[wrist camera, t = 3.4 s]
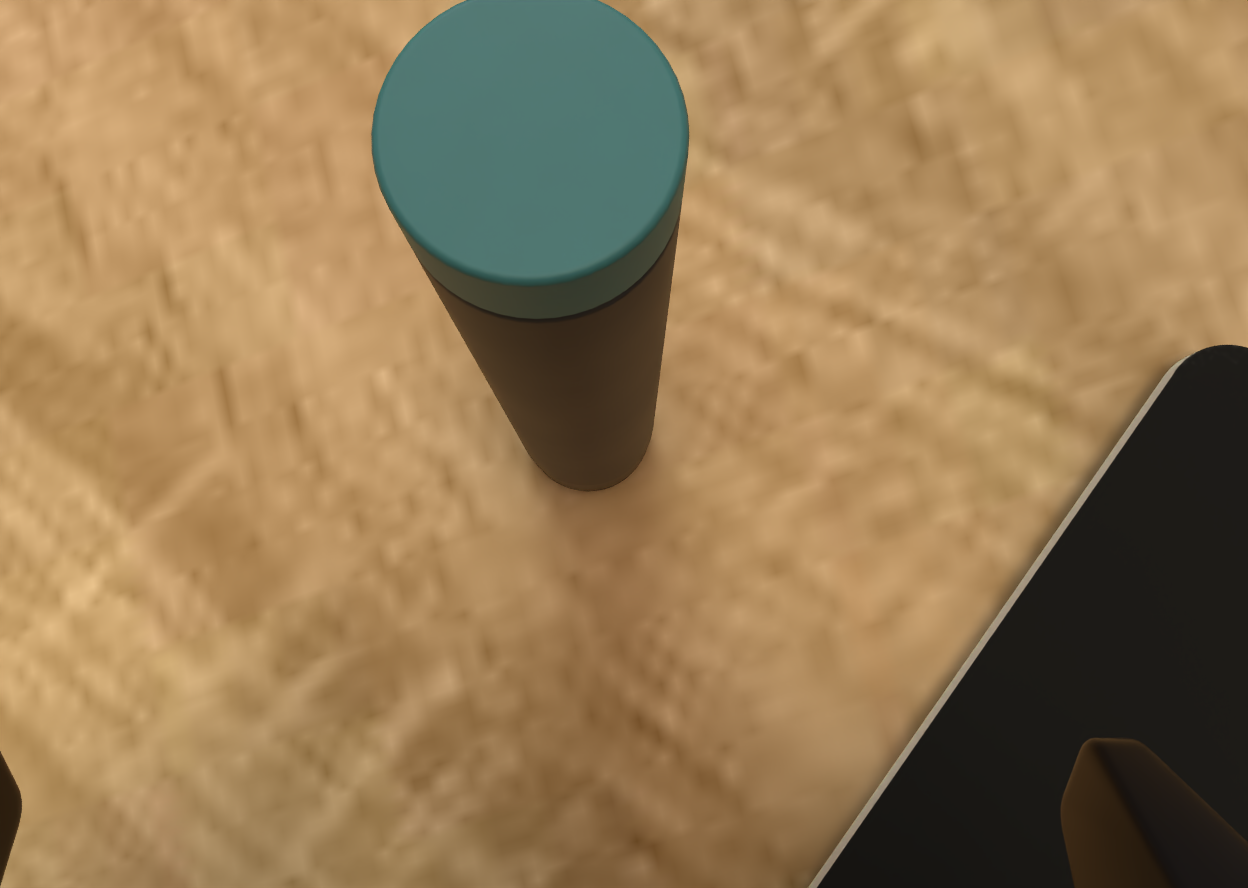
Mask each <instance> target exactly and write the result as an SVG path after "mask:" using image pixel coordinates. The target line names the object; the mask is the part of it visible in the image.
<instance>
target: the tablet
mask: <svg viewBox="0 0 1248 888" xmlns="http://www.w3.org/2000/svg"><path fill="white" fill-rule="evenodd" d="M1091 738H1131V739H1135V740H1138V741H1140V742H1141V743H1143V744H1145V745H1146V746H1147V747H1148V748H1149V749H1150V750H1152V751H1153V752H1154V753H1155V754H1156V755H1157V756H1158V757H1159V758H1160V759H1161V760H1162V761H1163V762H1164V763H1165V764H1166V765H1167V766H1168V767H1169V768H1170V769H1171V770H1173V771H1174V772H1175V773H1176V774H1177V775H1178V776H1179V777H1180V778H1181V779H1182V780H1183V781H1184V782H1185V783H1186V784H1187V785H1188V786H1189V787H1190V788H1191V789H1192V790H1193V791H1195V792H1196V793H1197V794H1198V795H1199V796H1200V797H1201V798H1202V799H1203V800H1204V801H1205V802H1206V803H1207V804H1208V805H1209V806H1210V807H1211V808H1212V809H1213V810H1214V811H1216V812H1217V813H1218V814H1219V815H1220V816H1221V817H1222V818H1223V819H1224V820H1225V821H1226V822H1227V823H1228V824H1229V825H1230V826H1231V827H1232V828H1233V829H1234V830H1235V831H1236V832H1238V833H1239V834H1240V835H1241V836H1242V837H1243V838H1244V839H1245V840H1246V841H1247V842H1248V348H1247V347H1242V346H1237V345H1218V346H1212V347H1209V348H1205V349H1203V350H1200V351H1198V352H1196V353H1194V354H1192V355H1189V356H1187V357H1185V358H1183V359H1182V360H1180V361H1179V362H1177V363H1176V364H1175V365H1173V366H1172V367H1171V368H1170V369H1169V370H1168V371H1167V373H1166V374H1165V375H1164V377H1163V378H1162V379H1161V381H1160V382H1159V384H1158V385H1157V387H1156V388H1155V390H1154V391H1153V392H1152V394H1151V395H1150V397H1149V398H1148V400H1147V401H1146V402H1145V404H1144V405H1143V407H1142V408H1141V410H1140V411H1139V413H1138V414H1137V415H1136V417H1135V418H1134V420H1133V421H1132V423H1131V424H1130V425H1129V427H1128V428H1127V430H1126V431H1125V433H1124V434H1123V436H1122V437H1121V438H1120V440H1119V441H1118V443H1117V444H1116V446H1115V447H1114V448H1113V450H1112V451H1111V453H1110V454H1109V456H1108V457H1107V459H1106V460H1105V461H1104V463H1103V464H1102V466H1101V467H1100V469H1099V470H1098V471H1097V473H1096V474H1095V476H1094V477H1093V479H1092V480H1091V482H1090V483H1089V484H1088V486H1087V487H1086V489H1085V490H1084V492H1083V493H1082V494H1081V496H1080V497H1079V499H1078V500H1077V502H1076V503H1075V505H1074V506H1073V507H1072V509H1071V510H1070V512H1069V513H1068V515H1067V516H1066V517H1065V519H1064V520H1063V522H1062V523H1061V525H1060V526H1059V528H1058V529H1057V530H1056V532H1055V533H1054V535H1053V536H1052V538H1051V539H1050V540H1049V542H1048V543H1047V545H1046V546H1045V548H1044V549H1043V551H1042V552H1041V553H1040V555H1039V556H1038V558H1037V559H1036V561H1035V562H1034V563H1033V565H1032V566H1031V568H1030V569H1029V571H1028V572H1027V574H1026V575H1025V576H1024V578H1023V579H1022V581H1021V582H1020V584H1019V585H1018V586H1017V588H1016V589H1015V591H1014V592H1013V594H1012V595H1011V597H1010V598H1009V599H1008V601H1007V602H1006V604H1005V605H1004V607H1003V608H1002V609H1001V611H1000V612H999V614H998V615H997V617H996V618H995V620H994V621H993V622H992V624H991V625H990V627H989V628H988V630H987V631H986V633H985V634H984V635H983V637H982V638H981V640H980V641H979V643H978V644H977V645H976V647H975V648H974V650H973V651H972V653H971V654H970V656H969V657H968V658H967V660H966V661H965V663H964V664H963V666H962V667H961V668H960V670H959V671H958V673H957V674H956V676H955V677H954V679H953V680H952V681H951V683H950V684H949V686H948V687H947V689H946V690H945V691H944V693H943V694H942V696H941V697H940V699H939V700H938V702H937V703H936V704H935V706H934V707H933V709H932V710H931V712H930V713H929V714H928V716H927V717H926V719H925V720H924V722H923V723H922V725H921V726H920V727H919V729H918V730H917V732H916V733H915V735H914V736H913V737H912V739H911V740H910V742H909V743H908V745H907V746H906V748H905V749H904V750H903V752H902V753H901V755H900V756H899V758H898V759H897V760H896V762H895V763H894V765H893V766H892V768H891V769H890V771H889V772H888V773H887V775H886V776H885V778H884V779H883V781H882V782H881V783H880V785H879V786H878V788H877V789H876V791H875V792H874V794H873V795H872V796H871V798H870V799H869V801H868V802H867V804H866V805H865V806H864V808H863V809H862V811H861V812H860V814H859V815H858V817H857V818H856V819H855V821H854V822H853V824H852V825H851V827H850V828H849V829H848V831H847V832H846V834H845V835H844V837H843V838H842V840H841V841H840V842H839V844H838V845H837V847H836V848H835V850H834V851H833V852H832V854H831V855H830V857H829V858H828V860H827V861H826V863H825V864H824V865H823V867H822V868H821V870H820V871H819V873H818V874H817V875H816V877H815V878H814V880H813V881H812V883H811V884H810V886H809V887H808V888H1074V883H1073V879H1072V874H1071V869H1070V864H1069V859H1068V855H1067V850H1066V845H1065V840H1064V836H1063V831H1062V825H1061V802H1062V798H1063V794H1064V792H1065V789H1066V786H1067V784H1068V781H1069V778H1070V776H1071V773H1072V770H1073V767H1074V765H1075V762H1076V759H1077V757H1078V754H1079V751H1080V749H1081V747H1082V745H1083V744H1084V743H1085V742H1086V741H1087V740H1089V739H1091Z"/></svg>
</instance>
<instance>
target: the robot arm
mask: <svg viewBox="0 0 1248 888" xmlns="http://www.w3.org/2000/svg"><path fill="white" fill-rule="evenodd" d="M21 812H22V799H21V794H20V790H19V788H18V786H17V784H16V782H15V780H14V778H13V776H12V774H11V772H10V770H9V768H8V766H7V764H6V762H5V760H4V758H3V756H2V754H1V752H0V885H1V882H2V879H3V876H4V872H5V869H6V866H7V862H8V859H9V856H10V853H11V849H12V846H13V843H14V839H15V836H16V833H17V830H18V826H19V823H20V818H21ZM1061 825H1062V831H1063V836H1064V840H1065V845H1066V850H1067V855H1068V859H1069V864H1070V869H1071V874H1072V879H1073V883H1074V888H1248V842H1247V841H1246V840H1245V839H1244V838H1243V837H1242V836H1241V835H1240V834H1239V833H1238V832H1236V831H1235V830H1234V829H1233V828H1232V827H1231V826H1230V825H1229V824H1228V823H1227V822H1226V821H1225V820H1224V819H1223V818H1222V817H1221V816H1220V815H1219V814H1218V813H1217V812H1216V811H1214V810H1213V809H1212V808H1211V807H1210V806H1209V805H1208V804H1207V803H1206V802H1205V801H1204V800H1203V799H1202V798H1201V797H1200V796H1199V795H1198V794H1197V793H1196V792H1195V791H1193V790H1192V789H1191V788H1190V787H1189V786H1188V785H1187V784H1186V783H1185V782H1184V781H1183V780H1182V779H1181V778H1180V777H1179V776H1178V775H1177V774H1176V773H1175V772H1174V771H1173V770H1171V769H1170V768H1169V767H1168V766H1167V765H1166V764H1165V763H1164V762H1163V761H1162V760H1161V759H1160V758H1159V757H1158V756H1157V755H1156V754H1155V753H1154V752H1153V751H1152V750H1150V749H1149V748H1148V747H1147V746H1146V745H1145V744H1143V743H1141V742H1140V741H1138V740H1135V739H1131V738H1091V739H1089V740H1087V741H1086V742H1085V743H1084V744H1083V745H1082V747H1081V749H1080V751H1079V754H1078V757H1077V759H1076V762H1075V765H1074V767H1073V770H1072V773H1071V776H1070V778H1069V781H1068V784H1067V786H1066V789H1065V792H1064V794H1063V798H1062V802H1061Z"/></svg>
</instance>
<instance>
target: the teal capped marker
mask: <svg viewBox="0 0 1248 888" xmlns="http://www.w3.org/2000/svg"><path fill="white" fill-rule="evenodd" d="M371 135H372V156H373V162H374V169H375V174H376V177H377V180H378V183H379V186H380V190H381V192H382V194H383V196H384V199H385V201H386V203H387V205H388V207H389V209H390V211H391V213H392V214H393V216H394V218H395V220H396V221H397V223H398V225H399V227H400V228H401V230H402V232H403V234H404V236H405V237H406V239H407V241H408V243H409V244H410V246H411V248H412V249H413V251H414V253H415V255H416V257H417V258H418V260H419V262H420V264H421V265H422V267H423V269H424V271H425V272H426V274H427V276H428V278H429V280H430V281H431V283H432V285H433V287H434V288H435V290H436V292H437V294H438V295H439V297H440V299H441V301H442V302H443V304H444V306H445V308H446V309H447V311H448V313H449V315H450V317H451V318H452V320H453V322H454V324H455V325H456V327H457V329H458V331H459V332H460V334H461V336H462V338H463V339H464V341H465V343H466V345H467V346H468V348H469V350H470V352H471V353H472V355H473V357H474V359H475V361H476V362H477V364H478V366H479V368H480V369H481V371H482V373H483V375H484V376H485V378H486V380H487V382H488V383H489V385H490V387H491V389H492V390H493V392H494V394H495V396H496V397H497V399H498V401H499V403H500V405H501V406H502V408H503V410H504V412H505V413H506V415H507V417H508V419H509V420H510V422H511V424H512V426H513V427H514V429H515V431H516V433H517V434H518V436H519V438H520V440H521V441H522V443H523V445H524V447H525V449H526V450H527V452H528V454H529V455H530V457H531V458H532V459H533V461H534V462H535V463H536V464H537V465H538V466H539V467H540V468H541V469H542V470H543V471H544V473H545V474H547V475H548V476H549V477H550V478H551V479H553V480H554V481H556V482H557V483H559V484H561V485H563V486H565V487H568V488H571V489H576V490H582V491H595V490H601V489H605V488H608V487H611V486H613V485H615V484H617V483H619V482H621V481H622V480H624V479H625V478H627V477H628V476H629V475H630V474H631V473H632V472H633V471H634V470H635V469H636V468H637V466H638V465H639V463H640V462H641V460H642V458H643V456H644V454H645V452H646V449H647V446H648V444H649V441H650V438H651V435H652V430H653V424H654V416H655V409H656V401H657V393H658V385H659V377H660V369H661V362H662V354H663V346H664V338H665V330H666V322H667V315H668V307H669V299H670V291H671V283H672V276H673V268H674V260H675V252H676V244H677V236H678V229H679V221H680V213H681V205H682V197H683V189H684V182H685V174H686V166H687V158H688V146H689V124H688V114H687V109H686V104H685V100H684V96H683V93H682V90H681V87H680V85H679V82H678V79H677V77H676V75H675V73H674V71H673V69H672V67H671V65H670V64H669V62H668V60H667V59H666V57H665V56H664V54H663V53H662V52H661V50H660V49H659V47H658V46H657V45H656V44H655V43H654V41H653V40H652V39H651V38H650V37H649V36H648V35H647V34H646V33H645V32H644V31H643V30H642V29H641V28H640V27H639V26H637V25H636V24H635V23H634V22H632V21H631V20H630V19H629V18H628V17H626V16H625V15H623V14H622V13H620V12H618V11H617V10H615V9H614V8H612V7H610V6H609V5H606V4H604V3H602V2H600V1H598V0H466V1H464V2H461V3H459V4H457V5H455V6H453V7H452V8H450V9H448V10H447V11H445V12H443V13H442V14H440V15H438V16H437V17H436V18H434V19H433V20H432V21H431V22H429V23H428V24H427V25H426V26H424V27H423V28H422V29H421V30H420V31H419V32H418V33H417V34H416V35H415V36H414V37H413V38H412V39H411V40H410V41H409V42H408V43H407V45H406V46H405V47H404V49H403V50H402V51H401V53H400V54H399V55H398V57H397V58H396V60H395V62H394V63H393V65H392V67H391V69H390V70H389V72H388V74H387V76H386V78H385V80H384V83H383V85H382V88H381V90H380V93H379V95H378V99H377V103H376V107H375V111H374V116H373V124H372V133H371Z"/></svg>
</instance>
